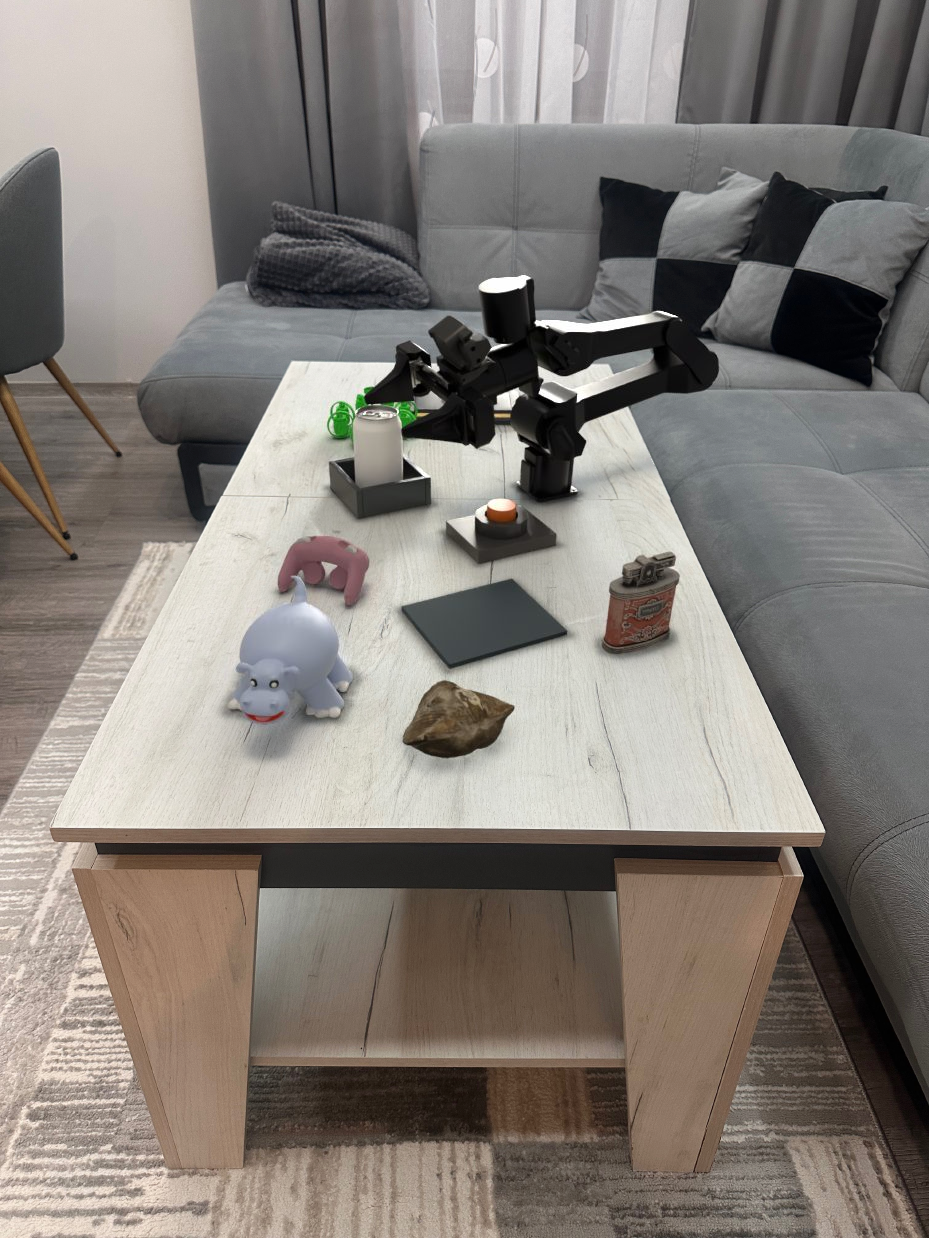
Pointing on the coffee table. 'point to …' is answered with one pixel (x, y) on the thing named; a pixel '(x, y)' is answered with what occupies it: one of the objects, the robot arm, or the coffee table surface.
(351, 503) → the box
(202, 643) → the coffee table surface
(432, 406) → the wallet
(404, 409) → the chandelier
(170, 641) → the coffee table surface
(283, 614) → the hippopotamus toy
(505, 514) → the button
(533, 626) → the mat
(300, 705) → the coffee table surface
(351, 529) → the coffee table surface
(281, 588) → the video game controller
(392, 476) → the can
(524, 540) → the button box
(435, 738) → the fossilized seashell
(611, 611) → the lighter
